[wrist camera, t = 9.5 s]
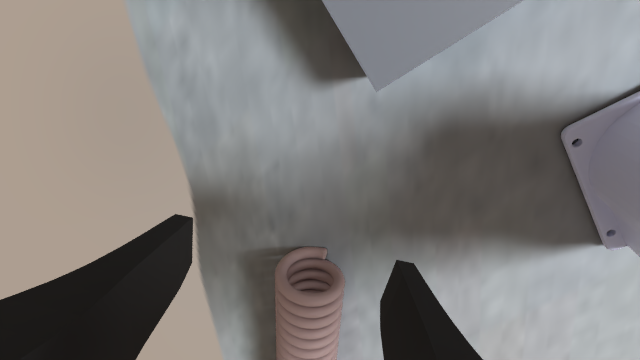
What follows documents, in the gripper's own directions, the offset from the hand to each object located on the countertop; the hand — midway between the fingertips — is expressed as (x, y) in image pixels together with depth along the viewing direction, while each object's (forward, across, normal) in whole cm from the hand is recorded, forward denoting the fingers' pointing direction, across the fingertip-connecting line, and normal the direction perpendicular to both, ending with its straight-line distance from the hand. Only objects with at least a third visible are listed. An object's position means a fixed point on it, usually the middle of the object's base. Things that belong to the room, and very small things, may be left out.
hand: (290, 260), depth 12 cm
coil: (+10, -2, +16) cm, 19 cm away
